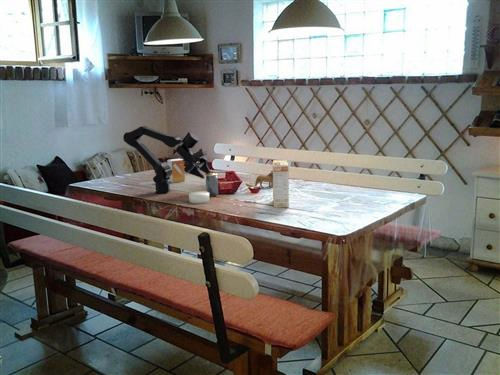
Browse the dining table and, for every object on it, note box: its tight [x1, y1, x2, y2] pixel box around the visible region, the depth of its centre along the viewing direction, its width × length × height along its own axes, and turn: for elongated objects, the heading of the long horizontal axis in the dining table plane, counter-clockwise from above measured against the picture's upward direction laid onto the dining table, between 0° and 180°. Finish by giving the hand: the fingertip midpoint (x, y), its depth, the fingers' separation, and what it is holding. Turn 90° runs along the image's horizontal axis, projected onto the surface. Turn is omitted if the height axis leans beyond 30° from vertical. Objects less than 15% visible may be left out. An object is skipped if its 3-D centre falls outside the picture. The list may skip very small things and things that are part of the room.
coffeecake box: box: [272, 159, 290, 208], centre depth 229 cm, size 15×7×20 cm, turn 178°
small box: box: [166, 158, 186, 184], centre depth 289 cm, size 8×6×13 cm
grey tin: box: [204, 172, 219, 197], centre depth 251 cm, size 6×6×11 cm
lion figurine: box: [254, 169, 273, 189], centre depth 268 cm, size 15×5×9 cm, turn 117°
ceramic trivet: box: [188, 190, 211, 204], centre depth 240 cm, size 10×10×4 cm
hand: (207, 176), depth 251 cm, fingers open, 9 cm apart
